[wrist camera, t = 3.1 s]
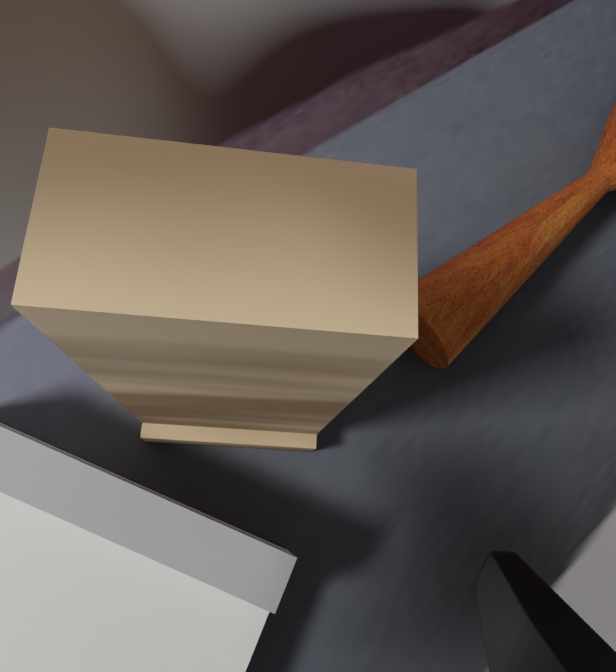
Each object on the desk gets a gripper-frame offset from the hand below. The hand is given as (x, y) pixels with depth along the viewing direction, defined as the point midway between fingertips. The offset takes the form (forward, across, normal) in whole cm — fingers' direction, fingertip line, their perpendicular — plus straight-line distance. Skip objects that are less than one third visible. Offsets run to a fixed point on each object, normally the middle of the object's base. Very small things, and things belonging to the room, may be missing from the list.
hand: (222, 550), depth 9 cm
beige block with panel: (+11, 0, +4) cm, 12 cm away
